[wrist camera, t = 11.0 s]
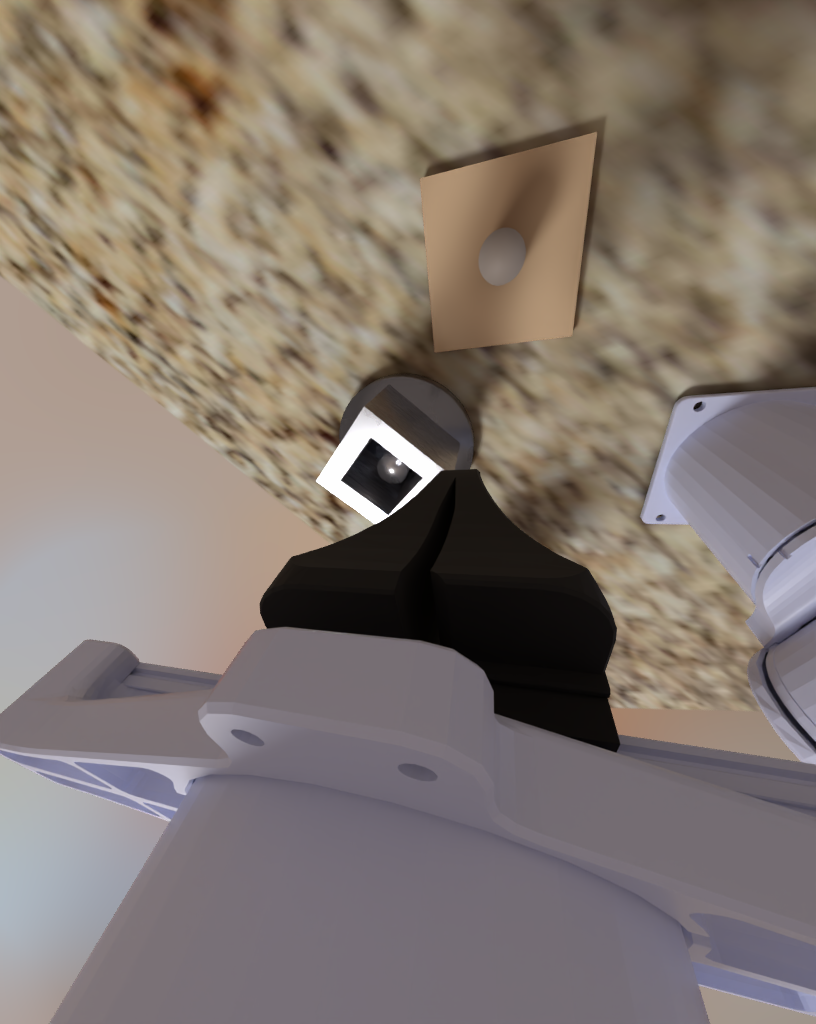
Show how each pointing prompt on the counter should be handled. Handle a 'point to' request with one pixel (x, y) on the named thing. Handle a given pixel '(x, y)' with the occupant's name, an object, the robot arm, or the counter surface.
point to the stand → (507, 245)
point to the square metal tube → (404, 438)
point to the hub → (429, 401)
